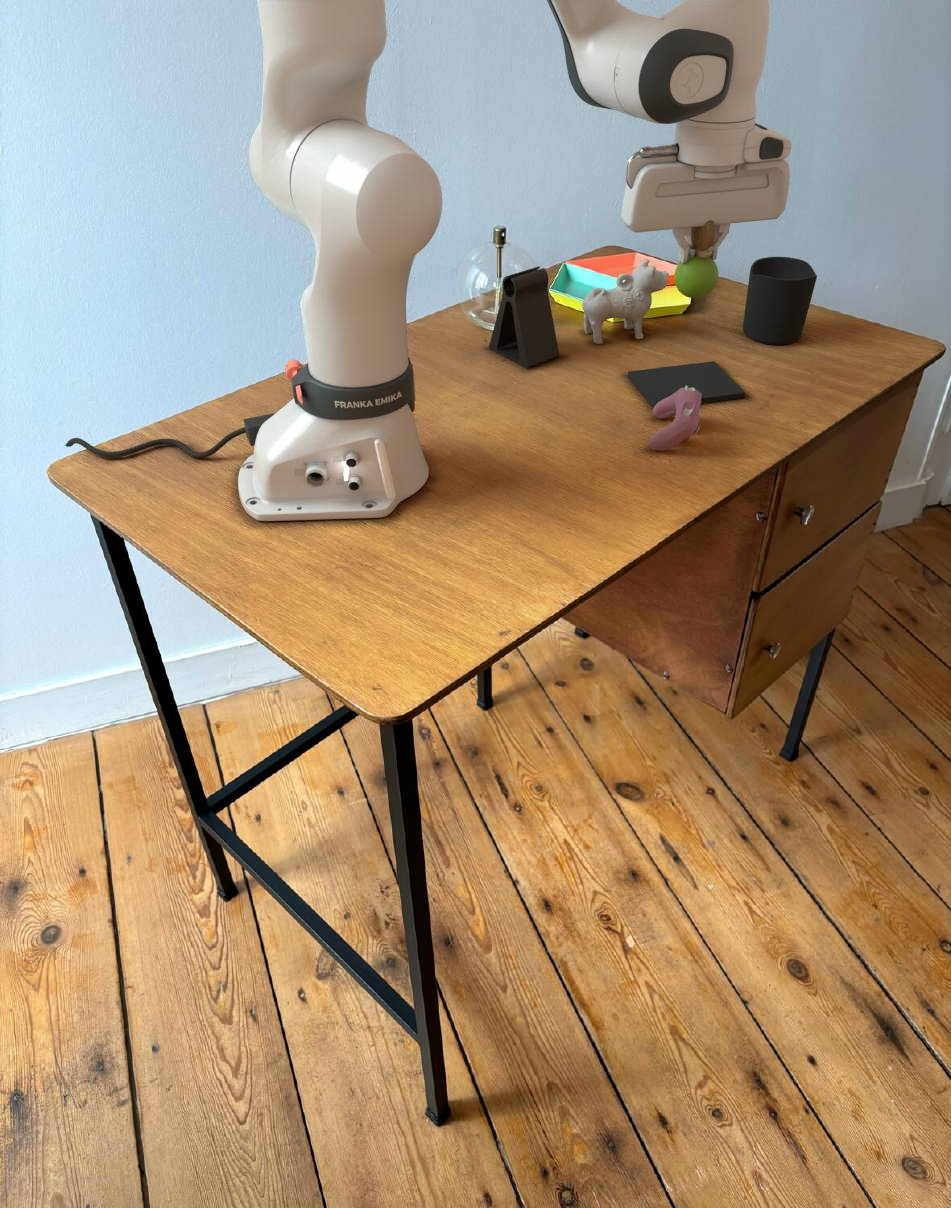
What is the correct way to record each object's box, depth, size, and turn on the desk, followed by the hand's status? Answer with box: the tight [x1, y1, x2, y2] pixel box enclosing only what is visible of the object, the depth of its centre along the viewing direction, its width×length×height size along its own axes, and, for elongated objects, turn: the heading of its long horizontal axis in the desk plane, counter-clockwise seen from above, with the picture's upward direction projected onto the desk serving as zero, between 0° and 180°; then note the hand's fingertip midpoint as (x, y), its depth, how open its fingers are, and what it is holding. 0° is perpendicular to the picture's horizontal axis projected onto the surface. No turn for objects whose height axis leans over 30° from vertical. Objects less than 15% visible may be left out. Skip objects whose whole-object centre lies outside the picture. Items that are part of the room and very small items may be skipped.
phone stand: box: [488, 265, 560, 369], centre depth 137 cm, size 9×6×12 cm, turn 37°
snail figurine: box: [673, 220, 719, 299], centre depth 119 cm, size 5×6×12 cm
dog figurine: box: [581, 258, 670, 345], centre depth 142 cm, size 5×13×11 cm, turn 106°
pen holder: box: [742, 256, 818, 346], centre depth 141 cm, size 9×9×10 cm
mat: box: [627, 360, 746, 409], centre depth 131 cm, size 13×10×1 cm
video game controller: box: [648, 385, 702, 452], centre depth 120 cm, size 10×5×7 cm, turn 168°
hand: (696, 260), depth 120 cm, fingers closed on snail figurine
